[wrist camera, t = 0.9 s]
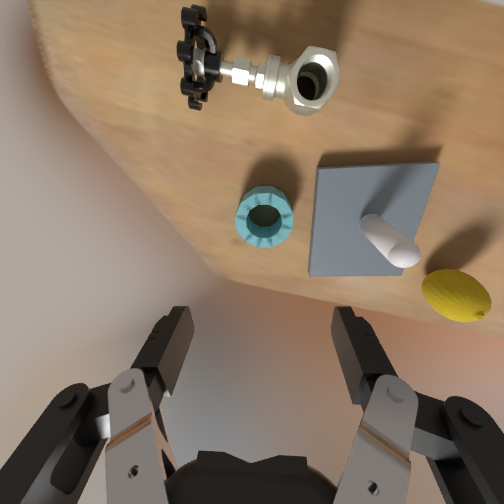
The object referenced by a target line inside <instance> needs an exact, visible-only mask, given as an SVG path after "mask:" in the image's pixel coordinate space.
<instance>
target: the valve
mask: <svg viewBox="0 0 504 504" xmlns="http://www.w3.org/2000/svg"><path fill="white" fill-rule="evenodd" d="M201 21H205V22H206V21H207V13H206V8H205V7H202V6H198V5H194V4H192V6H191V8H187V7H183V8H182V10H181V22H182V26H183V28H184V30H185V39H184V41H180V40H179V41H178V43H177V56H178V59H179V61H181V62H183V64H184V77H183V78H182V79H181V83H180V88H181V93H182V94H183V95H186V96H189V97H188V105H189V108H190V109H195V110H199V111H200V110H201V109H202V103H199V102H198V101H202V102H207V101H208V91H210V90H211V89H212V88H213V86H214V83H215V82H218V83H221V82H222V78H223V76H225V77H230V78H232V83H233V84H235V85H240V86H245V87H248V86H249V83H251V84H255V88H256V89H258V90H262V99H264V100H269V101H273V98H274V97H277V98H281V99H283V100H284V102H285V104H286V106H287V108H288V110H289V111H291V112H293V113H294V114H296V115H299V116H309V115H312V114H315V113H316V112H318V111H319V110H321V109H322V108H323V107H324V106H325V104H326V103H327V102H328V100H329V98H330V96H331V95H332V94H333V93H334V92H335V90H336V89H337V88H338V87H339V86H340V78H339V68H338V62H337V56H336V52H335V51H331V50H328V49H324V48H319V47H314V46H308V47H307V48H306V50H305V51H304V52H303V54H302V55H301V56H300V57H298V58H297V59H296V60H295V61H293V62H292V63H291V64H287V63H282V62H281V56H276V55H272V54H269V55H268V59H267V63H263V62H259V64H258V66H252V65H251V64H252V62H251V60H249V59H245V58H240V57H236V56H235V58H234V62H233V63H232V62H228V61H224V56H223V53H222V52H220V51H217V42H216V39H215V37H214V35H213V33H212V32H211V31H210V30H209V29H208V28H206V27H204V26H201ZM195 41H196V43H197V49H196V48H194V46H195ZM206 48H209V49H206ZM194 75H197V81H195V77H194ZM301 76H307V77H309V78H311V79H312V80H313V82H314V84H315V89H316V90H315V96H314V98H313V100H307V99H305V98H303V97H302V96H301V95H300V93H299V91H298V88H297V78H298V77H301ZM205 80H207V81H206V82H205Z"/></svg>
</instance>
